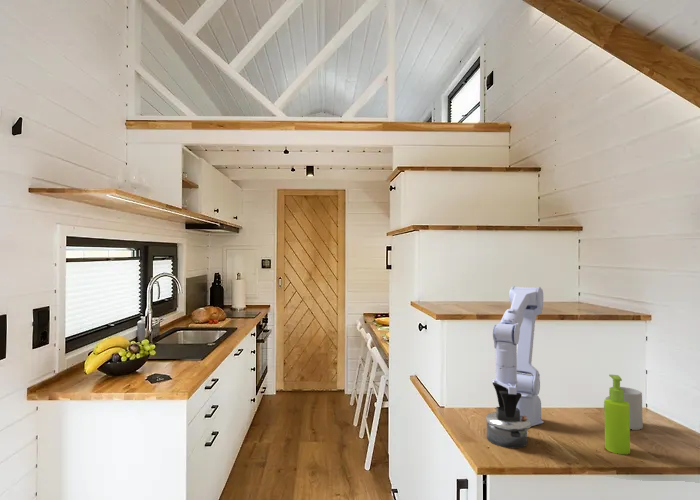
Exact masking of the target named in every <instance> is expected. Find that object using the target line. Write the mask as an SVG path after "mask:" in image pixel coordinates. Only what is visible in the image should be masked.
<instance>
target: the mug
mask: <svg viewBox="0 0 700 500" xmlns="http://www.w3.org/2000/svg"><path fill="white" fill-rule="evenodd" d="M620 388H622V389H623V390H624V401H626V402H628V403H629V410H630V429H632V430H631V431H639V430H640V429H641V430H642V429H644V428H643V427H644V425H643V424H644V421H643V392H642V391H641V390H639V389H635V388H630V387H625V386H620ZM605 399H610V396H609V395H608V396H607V397H605ZM641 430H640V431H641Z"/></svg>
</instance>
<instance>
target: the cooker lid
mask: <svg viewBox="0 0 700 500" xmlns="http://www.w3.org/2000/svg"><path fill="white" fill-rule="evenodd" d="M485 416H486V417H485V418H486V424H487V423H489V424H490V425H492V426H494V427H497V428H500V429H505V430H513V431H520V430H526V429H527V430H528V429H530V428H531V427H530V420H529V419H528V418H527V416H521V415H520V410H519V409H518V408H516V411H515V415H514V417H506V415H505V411H504V407H499V406H496V411H495V412H490V413H488V414H487V415H485Z"/></svg>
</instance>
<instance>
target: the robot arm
mask: <svg viewBox="0 0 700 500" xmlns="http://www.w3.org/2000/svg"><path fill="white" fill-rule="evenodd" d="M508 292H509V293H508V294H509V296H508V297H509V302H510V308H508V309H506V310H505V311H504V313H503V315H502V317H501V319H500V321H499V322H498V323H497V324H494V326H493V329H492V340H493V347H494V349H495V378H492V379H491V382H492V385H493V388H494V389H495V393H496V396H497V397H496V398H497V403H498V407H504V411H505V415H506V417H514V415H515V411H516V408H518V409H519V410H520V415H521V416H527V418H528V419H529V420H530V428H531V427H534V426H538V425H542V424H543V423H545V422H544V420H542V400H541V398H540V397H539V393H540V390H541V377H540V376H541V374H540V372H539V370H538V369H537V368H536V367H534V365H533V364H532V361H533V350H534V339H535V338H534V337H535V327H536V325H535V324H536V321H537V316H539V315H541V314H542V313H543V312H542V311H543V307H544V290H543V288H542V287H541V286H538V287H532V286H531V287H530V286H515V285H513V286H511V288H510V289H509V291H508Z"/></svg>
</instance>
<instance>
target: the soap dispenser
mask: <svg viewBox="0 0 700 500" xmlns="http://www.w3.org/2000/svg"><path fill="white" fill-rule="evenodd" d="M608 376H609V378H611V379H612V386H610V387H609V395H608V396H610V399H606V398H605V399H604V402H603V411H604V448H605V450H607V451H608V452H609V453H610V452H611V453H613V454H617V453H618V454H617V455H629V454H630V453H631V430H630V410H629V403H628V402H626V401H624V390H623V389H622V388H620V387H621V382H622V380H623V379H622V378H621V376H620V375H618V374H609V375H608ZM628 453H629V454H628Z"/></svg>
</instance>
